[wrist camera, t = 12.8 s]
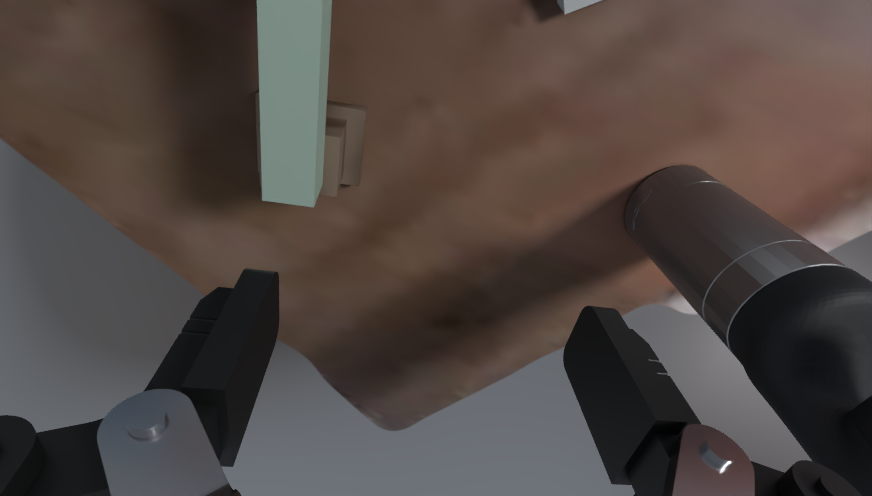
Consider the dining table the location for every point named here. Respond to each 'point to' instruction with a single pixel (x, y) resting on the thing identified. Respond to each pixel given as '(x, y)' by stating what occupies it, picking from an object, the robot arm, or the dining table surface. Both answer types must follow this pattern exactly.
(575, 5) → the decorative molding
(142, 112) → the dining table surface
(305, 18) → the green rail
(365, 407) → the dining table surface
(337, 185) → the post
